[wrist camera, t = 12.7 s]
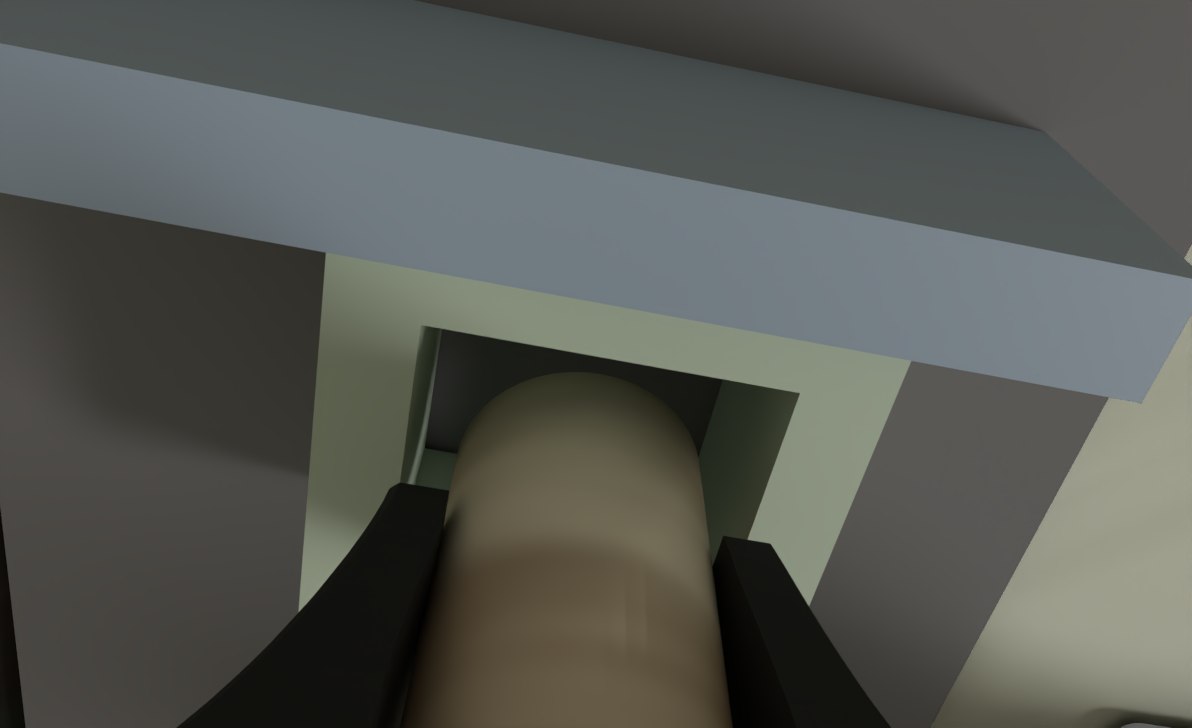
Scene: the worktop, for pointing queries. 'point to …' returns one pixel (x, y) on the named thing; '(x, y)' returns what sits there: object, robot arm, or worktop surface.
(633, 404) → the dowel
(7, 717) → the worktop surface
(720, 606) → the robot arm
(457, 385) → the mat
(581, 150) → the backstop wall
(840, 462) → the socket block
